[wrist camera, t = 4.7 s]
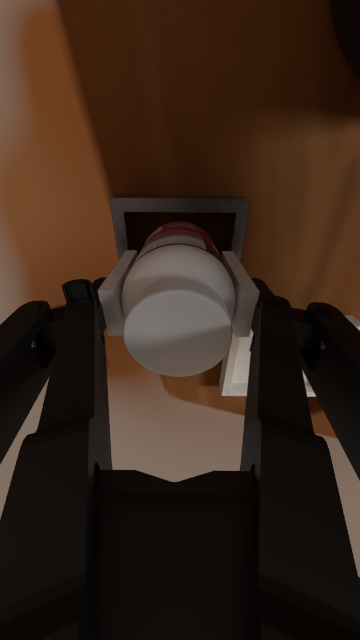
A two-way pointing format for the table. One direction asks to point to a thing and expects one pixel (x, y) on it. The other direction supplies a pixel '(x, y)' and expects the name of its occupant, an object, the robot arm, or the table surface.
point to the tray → (238, 366)
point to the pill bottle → (178, 302)
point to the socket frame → (215, 204)
